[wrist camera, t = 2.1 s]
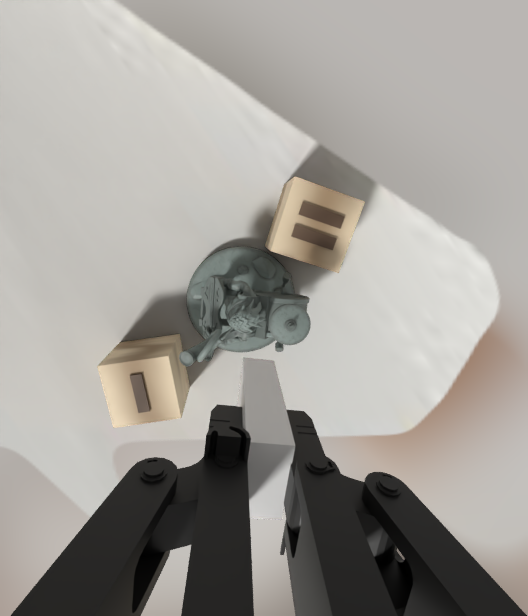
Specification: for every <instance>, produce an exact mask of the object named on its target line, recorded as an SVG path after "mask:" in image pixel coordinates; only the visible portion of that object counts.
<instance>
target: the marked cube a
mask: <svg viewBox="0 0 528 616" xmlns="http://www.w3.org/2000/svg"><path fill="white" fill-rule="evenodd" d="M181 352H183V349H182V344H181V338H180V334H175V335H168V336H161V337H154V338H147V339H140V340H133V341H125V342H120V343H119V344H118V345H117V346H116V347H115V348H114V349H113V350H112V351H111V352H110V353H109V354H108V355H107V356H106V358H105V359H104V360H103V361H102V362H101V363H100V364H99V365H98V366H97V367H98V371H99V375H100V379H101V382H102V386H103V390H104V394H105V397H106V401H107V405H108V409H109V413H110V416H111V420H112V424H113V428H118V427H124V426H131V425H138V424H144V423H151V422H157V421H164V420H171V419H177V418H181V417H182V413H183V410H184V406H185V403H186V399H187V396H188V392H189V388H190V385H189V380H188V375H187V369H186V366H184V365H183V364H182V363H181V362H180V360H179V355H180V353H181Z"/></svg>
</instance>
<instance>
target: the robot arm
mask: <svg viewBox="0 0 528 616" xmlns="http://www.w3.org/2000/svg"><path fill="white" fill-rule="evenodd" d="M284 507H285V512H286V524H285V529H284V534H283V539H282V545H281V552H280V554H281V555H284V552H285V547H286V552H287V558H288V566H289V572H290V580H291V587H292V593H293V601H294V607H295V614H296V616H527V615H526V614H525V613H524V612H523V611H522V610H521V609H520V608H519V607H518V605H517V604H516V603H515V602H514V601H513V600H512V599H511V598H510V597H509V596H508V595H507V594H506V593H505V591H504V590H503V589H502V588H501V587H500V586H499V585H498V584H497V583H496V582H495V581H494V580H493V578H491V576H490V575H489V574H488V573H487V572H486V571H485V570H484V569H483V568H482V567H481V566H480V565H479V563H478V562H477V561H476V560H475V559H474V558H473V557H472V556H471V555H470V554H469V553H468V552H467V551H466V549H465V548H464V547H463V546H462V545H461V544H460V543H459V542H458V541H457V540H456V539H455V538H454V536H453V535H452V534H451V533H450V532H449V531H448V530H447V529H446V528H445V527H444V526H443V524H442V523H441V522H440V521H439V520H438V519H437V518H436V517H435V516H434V515H433V514H432V513H431V512H430V510H429V509H428V508H427V507H426V506H425V505H424V504H423V503H422V502H421V501H420V500H419V499H418V497H417V496H415V494H414V493H413V492H412V491H411V490H410V489H409V488H408V487H407V486H406V485H405V484H404V483H403V482H402V481H401V480H399V479H397V478H396V477H394V476H392V475H390V474H387V473H383V472H373V473H370V474H368V475H367V477H366V478H365V482H361V481H358V480H355V479H352V478H348V477H346V476H344V475H342V474H340V471H339V469H338V467H337V465H336V464H335V463H334V462H333V461H332V460H331V459H329V458H328V457H326V456H325V454H324V451H323V449H322V446H321V443H320V441H319V438H318V435H317V432H316V430H315V428H314V424H313V422H312V419H311V418H310V417H309V416H308V415H307V414H306V413H305V412H304V411H294V410H286V406H285V403H284V399H283V395H282V391H281V387H280V383H279V379H278V375H277V371H276V367H275V363H274V361H272V360H262V359H253V358H243V364H242V371H241V379H240V386H239V394H238V401H237V406H227V405H217V406H216V407H215V408H214V409H213V410H212V411H211V417H210V424H209V430H208V433H207V435H206V445H205V454H204V457H203V458H202V459H201V460H200V461H199V462H198V463H196V464H194V465H192V466H189V467H185V468H180V469H177V467H176V465H175V464H173V462H172V461H170V460H167V459H165V458H157V457H154V458H148V459H145V460H142V461H140V462H138V463H136V464H135V465H134V466H133V467H132V468H131V469H130V470H129V471H128V473H127V474H126V475H125V476H124V478H123V479H122V480H121V481H120V482H119V483H118V485H117V486H116V487H115V488H114V490H113V491H112V492H111V493H110V495H109V496H108V497H107V498H106V499H105V501H104V502H103V503H102V504H101V506H100V507H99V508H98V509H97V510H96V512H95V513H94V514H93V515H92V517H91V518H90V519H89V520H88V522H87V523H86V524H85V525H84V526H83V528H82V529H81V530H80V531H79V532H78V534H77V535H76V536H75V538H74V539H73V540H72V541H71V542H70V544H69V545H68V546H67V547H66V549H65V550H64V551H63V552H62V553H61V555H60V556H59V557H58V558H57V560H56V561H55V562H54V563H53V564H52V566H51V567H50V568H49V570H47V572H46V573H45V574H44V576H43V577H42V578H41V579H40V580H39V582H38V583H37V584H36V586H34V588H33V589H32V590H31V591H30V593H29V594H28V595H27V596H26V597H25V599H24V600H23V601H22V603H21V604H20V605H19V606H18V607H17V608H16V610H15V611H14V612H13V613H12V615H11V616H141V613H142V611H143V609H144V607H145V605H146V603H147V601H148V599H149V597H150V595H151V592H152V590H153V588H154V586H155V584H156V582H157V580H158V578H159V576H160V574H161V571H162V569H163V567H164V565H165V563H166V561H167V559H168V557H169V553H170V550H173V549H176V548H180V547H184V546H187V545H191V544H192V545H191V552H190V559H189V566H188V573H187V580H186V587H185V593H184V600H183V608H182V615H181V616H254V609H253V584H252V560H251V537H250V518H258V519H275V520H276V519H277V520H282V517H283V511H284ZM397 548H398V549H399V551H400V552H401V554H402V555H403V556H404V558H405V560H403V559H402V558H401V556H400V555H399V554H398V552H397Z"/></svg>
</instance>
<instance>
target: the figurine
mask: <svg viewBox="0 0 528 616" xmlns="http://www.w3.org/2000/svg"><path fill="white" fill-rule="evenodd" d="M307 303H309V297H307V296H303V295H298V294H295V293H294V288H293V284H292V281H291V274H290V273H287V271H286V270H285V268H284V267H283V266H282V265H281V264H280V263H279V262H278V261H277V260H276V259H275V258H274V257H272V256H271V255H269V254H268V253H266V252H264V251H262V250H259V249H256V248H252V247H245V246H237V247H230V248H226V249H223V250H220V251H218V252H216V253H214V254H212V255H211V256H209V257H208V258H207V259H206V260H204V261H203V262H202V263H201V265H200V266H199V267H198V268H197V270H196V271H195V273H194V274H193V276H192V278H191V281H190V283H189V287H188V291H187V308H188V313H189V316H190V319H191V321H192V323H193V325H194V327H195V328H196V330H197V331H198V332H199V334H200V335H201V336H202V337H203V338H204V339H205V340H204V341H203V342H201V343H200V344H198V345H196V346H194V347H192V348H190V349H188V350H186V351H183V352H181V353H180V355H179V360H180V362H181V363H182V364H183V365H184V366H191V365H192V364H193V363H194V362H195V361H196V360H197V361H198V362H202V361H203V360H204V359H205V361H210V360H211V359H212V356H213V352H214V349H215V348H216V347H218V348H221V349H223V350H227V351H232V352H250V351H254V350H258V349H261V348H263V347H265V346H267V345H269V344H271V343H272V342H273V341H275V340H276V341H277V343H276V344H275V347H276V351H277V352H281V351H283V344H285V345H294V344H297V343H299V342H301V341H302V340H304V339H305V337H306V336H307V335H308V333H309V330H310V318H309V316H308V314H307V312H306V311H307Z"/></svg>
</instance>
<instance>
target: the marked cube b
mask: <svg viewBox="0 0 528 616" xmlns="http://www.w3.org/2000/svg"><path fill="white" fill-rule="evenodd" d="M364 203H365V202H364V201H362V200H359V199H356V198H353V197H351V196H348V195H345V194H342V193H340V192H337V191H334V190H331V189H329V188H326V187H323V186H320V185H318V184H315V183H312V182H309V181H307V180H304V179H301V178H298V177H293V178H292V179H291V180H289V181H288V182H287V183H286V184H284V187H283V190H282V193H281V196H280V200H279V203H278V206H277V209H276V212H275V215H274V218H273V221H272V225H271V228H270V231H269V234H268V237H267V240H266V243H265V247H266V248H268V249H269V250H270V251H272V252H275V253H278V254H281V255H284V256H287V257H290V258H294V259H297V260H300V261H303V262H306V263H309V264H312V265H315V266H318V267H321V268H324V269H327V270H331V271H334V272H337V273H339V270H340V268H341V265H342V262H343V260H344V257H345V254H346V252H347V249H348V246H349V244H350V241H351V238H352V236H353V233H354V230H355V228H356V225H357V222H358V219H359V217H360V214H361V211H362V209H363V206H364Z"/></svg>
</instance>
